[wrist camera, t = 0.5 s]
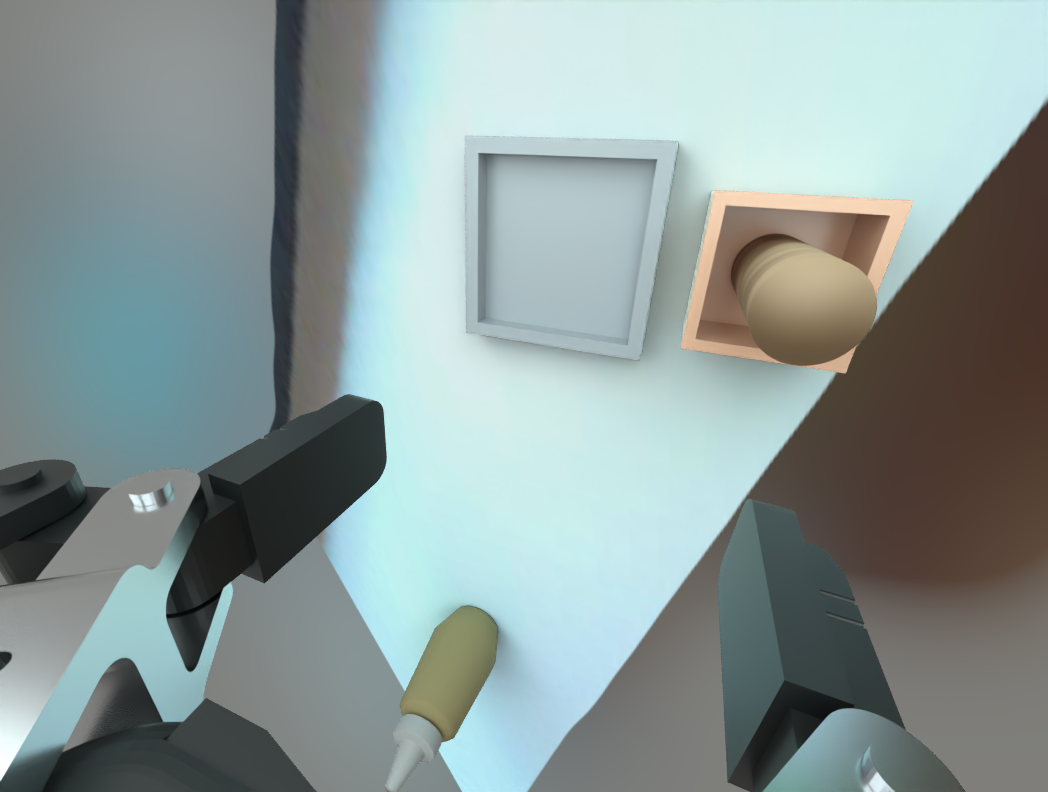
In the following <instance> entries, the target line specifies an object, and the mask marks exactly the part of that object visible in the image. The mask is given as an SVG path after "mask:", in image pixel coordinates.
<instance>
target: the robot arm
mask: <svg viewBox="0 0 1048 792" xmlns="http://www.w3.org/2000/svg"><path fill="white" fill-rule="evenodd" d="M386 459H387V456H386V441H385V426H384V412H383V408H382V405H381V404H380V403H379V402H377V401H374V400H370V399H366V398H362V397H358V396H355V395H351V394H348V395H344V396H342V397H340V398H339V399H337V400H335V401H334V402H332V403H330V404H328V405H327V406H325V407H323V408H321V409H320V410H318V411H315V412H311V413H308V414H305V415H302V416H299V417H297V418H296V419H294V420H292V421H290V422H288V423H287V424H285V425H283V426H281V427H280V430H277V429H276V430H274V431H272V432H271V433H269V434H267V435H265V436H264V438H263V439H258V440H256V441H254V442H253V443H251V444H249V445H247V446H246V447H244V448H242V449H240V450H238V451H237V452H235V453H233V454H231V455H229V456H228V457H226V458H224V459H222V460H221V461H219V462H217V463H215V464H213V465H212V466H210V467H208V468H206V469H204V470H203V471H201V472H199V473H195V472H193V471H191V470H187V469H180V468H171V469H162V470H155V471H151V472H147V473H143V474H140V475H137V476H134V477H132V478H130V479H127V480H125V481H123V482H121V483H119V484H117V485H116V486H114V487H113V488H100V487H84V485H83V483H82V481H81V478H80V476H79V474H78V472H77V469H76V467H75V465H74V464H72V463H71V462H68V461H64V460H40V461H34V462H28V463H23V464H19V465H16V466H12V467H9V468H5V469H2V470H0V571H1V573H2V575H3V577H4V578H5V580H6V582H7V583H8V585H1V586H0V792H316V790H315V789H313V787H312V786H311V785H310V784H309V782H308V781H307V780H306V779H305V777H304V776H303V775H302V774H301V772H300V771H299V770H298V769H297V767H296V766H295V765H294V764H293V763H292V761H291V760H290V759H289V757H288V756H287V755H286V754H285V752H284V751H283V750H282V749H281V747H280V746H279V745H278V744H277V742H276V741H275V740H274V739H273V737H272V736H271V735H270V734H269V732H268V731H267V730H265V729H263V728H261V727H259V726H257V725H255V724H254V723H252V722H250V721H248V720H246V719H244V718H242V717H241V716H239V715H237V714H235V713H233V712H231V711H229V710H228V709H226V708H224V707H222V706H220V705H218V704H216V703H214V702H213V701H211V700H209V699H207V698H206V699H205V700H204V701H203V695H204V688H205V683H206V680H207V676H208V673H209V670H210V667H211V663H212V660H213V657H214V654H215V650H216V647H217V644H218V641H219V638H220V634H221V631H222V627H223V625H224V621H225V618H226V615H227V611H228V608H229V605H230V602H231V598H232V595H233V587H232V584H231V581H233V580H234V579H235V578H236V577H237V576H239V575H240V574H244V575H246V576H248V577H251V578H253V579H255V580H258V581H260V582H263V583H265V582H266V581H268V579H270V578H271V577H272V576H273V575H274V574H275V573H276V572H277V571H279V570H280V569H281V568H282V567H283V566H284V565H285V564H286V563H288V562H289V561H290V560H291V559H292V558H293V557H294V556H295V555H296V554H297V553H299V552H300V551H301V550H302V549H303V548H304V547H305V546H306V545H307V544H309V543H310V542H311V541H312V540H313V539H314V538H315V537H316V536H318V535H319V534H320V533H321V532H322V531H323V530H324V529H325V528H326V527H328V526H329V525H330V524H331V523H332V522H333V521H334V520H335V519H336V518H338V517H339V516H340V515H341V514H342V513H343V512H344V511H345V510H346V509H348V508H349V507H350V506H351V505H352V504H353V503H354V502H355V501H356V500H357V499H359V498H360V497H361V496H362V495H363V494H364V493H365V492H366V491H367V490H369V489H370V488H371V487H372V486H373V485H374V484H375V483H376V482H377V481H378V480H379V479H380V477H381V475H382V473H383V471H384V469H385V465H386ZM854 601H855V598H854V596H853V593H852V591H851V588H850V586H849V583H848V580H847V578H846V575H845V573H844V572H843V571H842V569H841V568H840V567H839V566H838V565H837V563H835V561H834V560H833V559H832V558H831V556H829V554H828V553H827V552H826V551H825V549H824V548H823V547H820V546H817V545H813V544H809V543H806V542H804V539H803V535H802V532H801V529H800V526H799V522H798V519H797V516H796V513H795V512H794V511H793V510H790V509H787V508H782V507H778V506H775V505H771V504H767V503H763V502H760V501H756V500H751V499H748V500H747V501H746V502H745V504H744V506H743V508H742V510H741V513H740V516H739V518H738V521H737V524H736V526H735V529H734V532H733V535H732V537H731V539H730V542H729V545H728V547H727V550H726V552H725V555H724V558H723V561H722V564H721V568H720V573H719V581H718V605H719V624H720V643H721V660H722V661H721V663H722V682H723V700H724V720H725V740H726V759H727V778H728V782H729V783H731V784H733V785H736V786H738V787H740V788H743V789H745V790H747V791H750V792H966V791H965V790H964V788H963V787H962V786H961V785H960V783H959V781H958V780H957V779H956V777H955V776H954V775H953V773H952V772H951V771H950V770H949V769H948V767H947V766H946V765H945V764H944V763H943V762H942V761H941V760H940V759H939V758H938V757H937V756H936V755H935V754H934V753H933V752H932V751H931V750H930V749H929V748H928V747H927V746H926V745H924V744H923V743H922V742H921V741H920V740H918V739H917V738H916V737H914V736H913V735H912V734H911V733H909V732H908V731H906V729H905V727H904V724H903V722H902V719H901V717H900V714H899V712H898V709H897V706H896V704H895V701H894V699H893V696H892V694H891V691H890V688H889V686H888V683H887V681H886V678H885V676H884V673H883V671H882V668H881V665H880V663H879V660H878V658H877V655H876V652H875V650H874V647H873V645H872V642H871V640H870V637H869V635H868V632H867V629H864V628H863V625H864V622H863V619H862V616H861V614H860V611H859V609H858V606H857V605H855V604H854Z"/></svg>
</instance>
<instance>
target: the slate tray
mask: <svg viewBox="0 0 1048 792" xmlns="http://www.w3.org/2000/svg"><path fill="white" fill-rule="evenodd" d="M678 146H679V144H678V141H662V140H620V139H579V138H537V137H496V136H465V202H466V333H473V334H479V335H485V336H491V337H497V338H503V339H509V340H515V341H522V342H528V343H534V344H540V345H546V346H552V347H558V348H565V349H571V350H577V351H583V352H589V353H595V354H601V355H607V356H614V357H620V358H626V359H632V360H638V361H639V360H640V357H641V354H642V351H643V346H644V340H645V334H646V329H647V323H648V317H649V312H650V306H651V300H652V294H653V289H654V283H655V277H656V272H657V266H658V260H659V255H660V249H661V243H662V237H663V232H664V226H665V220H666V215H667V209H668V203H669V198H670V192H671V186H672V181H673V175H674V169H675V163H676V158H677V152H678Z"/></svg>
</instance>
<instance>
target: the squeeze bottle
mask: <svg viewBox="0 0 1048 792" xmlns="http://www.w3.org/2000/svg"><path fill="white" fill-rule="evenodd" d="M497 639H498V630H497V625H496V624H495V622H494V621H493V619H492V618H491V617H490V616H489V615H488V614H487V613H485V612H484V611H482V610H480V609H478V608H475V607H471V606H464V607H460V608H459V609H457V610H456V611H455V612H454V613H453V614H451V615H450V616H449V617H448V618H447V619H446V620H444V621H443V622H442V623H441V624H440V625H439V626H437V627H436V628H435V630H434V632H433V634H432V636H431V638H430V640H429V642H428V644H427V647H426V649H425V651H424V653H423V655H422V657H421V659H420V661H419V663H418V666H417V668H416V670H415V672H414V674H413V676H412V678H411V680H410V682H409V685H408V687H407V689H406V691H405V693H404V695H403V697H402V699H401V703H400V708H401V712H402V715H403V716H402V718H401V720H400V721H399V723H398V725H397V727H396V729H395V730H394V733H393V738H394V741H395V743H396V744H397V746H398V750H397V753H396V756H395V759H394V762H393V765H392V768H391V771H390V774H389V777H388V780H387V783H386V786H385V789H386V791H387V792H398V791H399V790H400V788H401V787H402V785H403V784H404V783H405V782H406V780H407V779H408V777H409V776H410V775H411V773H412V772H413V770H414V769H415V768H416V766H417V765H418V764H419V762H426V763H428V762H431V761H433V760H434V758H435V756H436V754H437V752H438V749H439V747H440V745H441V743H442V742H445V741H448V740H451V739H453V738H454V737H455V735H456V733H457V732H458V730H459V728H460V726H461V724H462V723H463V721H464V719H465V717H466V715H467V714H468V712H469V710H470V708H471V706H472V705H473V703H474V701H475V699H476V697H477V696H478V694H479V692H480V690H481V688H482V687H483V685H484V683H485V681H486V679H487V678H488V676H489V674H490V672H491V670H492V668H493V666H494V664H495V660H496V649H497Z"/></svg>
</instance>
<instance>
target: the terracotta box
mask: <svg viewBox="0 0 1048 792" xmlns="http://www.w3.org/2000/svg"><path fill="white" fill-rule="evenodd" d="M912 204H913V201H908V200H890V199H871V198H852V197H833V196H814V195H796V194H777V193H758V192H739V191H721V190H713V191H712V192H711V197H710V201H709V206H708V211H707V216H706V220H705V225H704V230H703V234H702V239H701V244H700V249H699V253H698V258H697V263H696V267H695V272H694V277H693V282H692V286H691V291H690V296H689V300H688V305H687V310H686V315H685V319H684V324H683V334H682V343H681V349H688V350H695V351H701V352H708V353H714V354H721V355H728V356H734V357H741V358H747V359H754V360H761V361H767V362H774V363H780V364H785V363H782V362H779V361H777V360H775V359H773V358H771V357H769V356H768V355H766V354H765V353H764V352H763V351H762V350H761V349H760V348H759V347H758V346H757V344H756V343H755V341H754V339H753V337H752V335H751V332H750V330H749V327H748V324H747V322H746V319H745V316H744V314H743V311H742V308H741V306H740V303H739V301H738V298H737V295H736V293H735V290H734V287H733V285H732V281H731V269H732V265H733V262H734V260H735V258H736V256H737V254H738V253H739V252H740V250H741V249H742V248H743V247H744V246H745V245H747V244H748V243H749V242H751V241H752V240H754V239H756V238H758V237H760V236H763V235H767V234H774V233H776V234H786V235H789V236H792V237H794V238H796V239H798V240H800V241H803V242H805V243H807V244H809V245H811V246H813V247H816V248H818V249H820V250H822V251H824V252H826V253H828V254H831V255H833V256H835V257H837V258H839V259H841V260H844V261H846V262H848V263H850V264H852V265H854V266H855V267H857V268H859V269H860V270H861V271H862V272H863V273H864V274H865V275H866V276H867V277H868V278H869V280H870V281H871V283H872V285H873V287H874V290H875V292H876V295H877V293H878V290H879V287H880V285H881V282H882V280H883V277H884V275H885V272H886V270H887V267H888V265H889V262H890V260H891V257H892V255H893V252H894V250H895V247H896V244H897V242H898V239H899V237H900V234H901V232H902V229H903V227H904V224H905V222H906V219H907V217H908V214H909V212H910V209H911V207H912ZM856 346H857V345H856ZM856 346H855V347H854V348H853V349H852V350H850V351H849V352H847V353H846V354H844V355H842V356H841V357H839V358H836V359H834V360H832V361H829V362H826V363H822V364H818V365H811V366H800V367H807V368H814V369H820V370H827V371H833V372H840V373H846V371H847V368H848V365H849V363H850V361H851V358H852V356H853V353H854V351H855V348H856ZM787 365H790V364H787ZM794 366H796V365H794Z"/></svg>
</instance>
